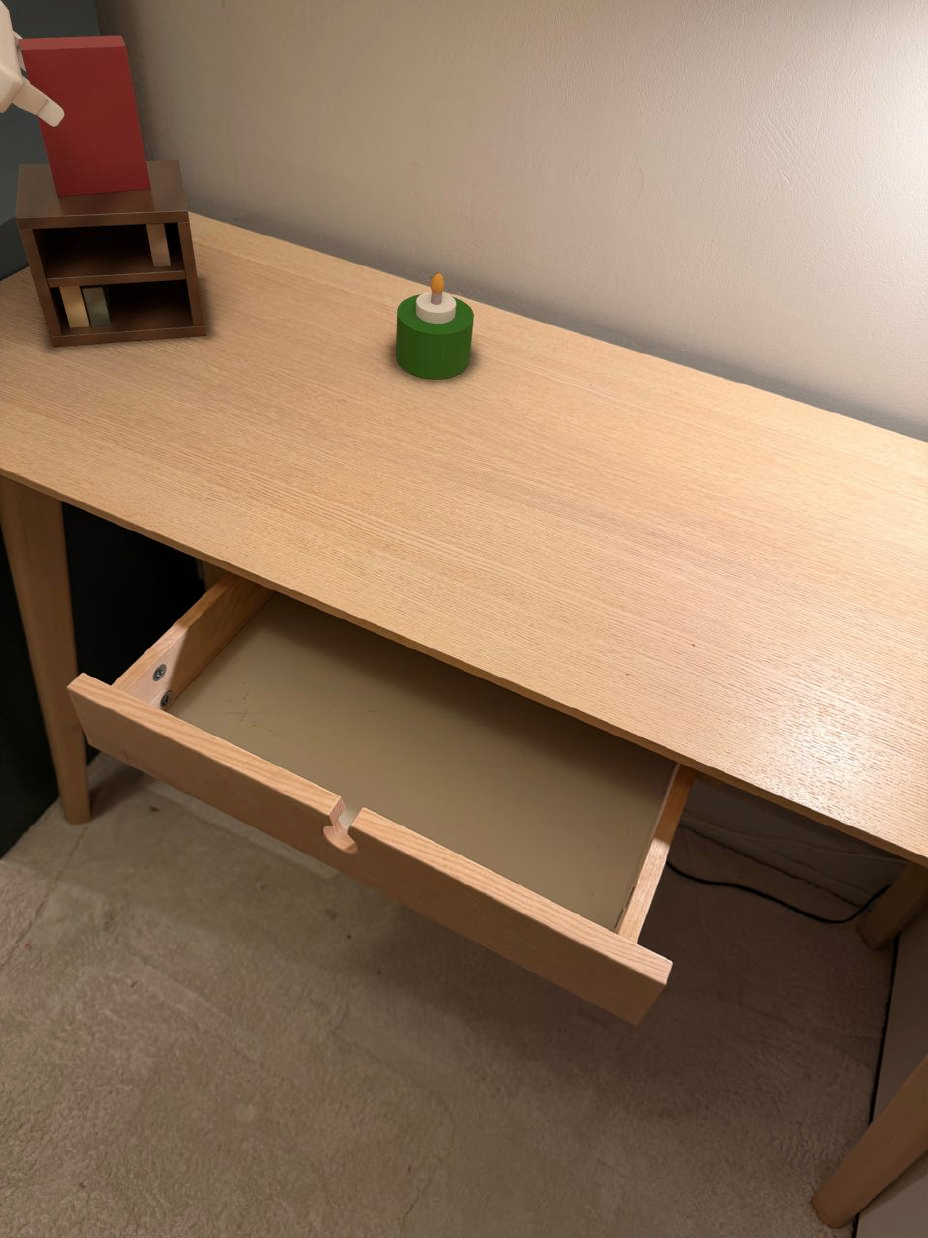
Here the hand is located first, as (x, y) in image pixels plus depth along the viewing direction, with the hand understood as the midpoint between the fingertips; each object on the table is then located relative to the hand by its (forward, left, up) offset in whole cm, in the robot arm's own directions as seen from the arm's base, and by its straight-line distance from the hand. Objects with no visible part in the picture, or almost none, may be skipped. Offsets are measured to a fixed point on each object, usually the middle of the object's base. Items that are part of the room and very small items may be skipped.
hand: (55, 98), depth 85 cm
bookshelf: (+2, 0, -22) cm, 23 cm away
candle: (+34, -13, -23) cm, 43 cm away
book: (+3, 0, -8) cm, 9 cm away
